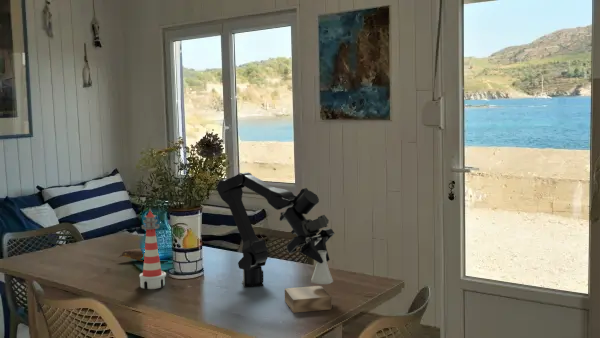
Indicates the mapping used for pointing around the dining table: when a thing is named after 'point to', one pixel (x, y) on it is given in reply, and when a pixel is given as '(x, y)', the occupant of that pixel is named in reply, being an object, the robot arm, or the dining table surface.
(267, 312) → the dining table surface
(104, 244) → the dining table surface
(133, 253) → the bird sculpture
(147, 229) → the miniature lighthouse
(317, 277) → the flask
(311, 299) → the light brown square board
